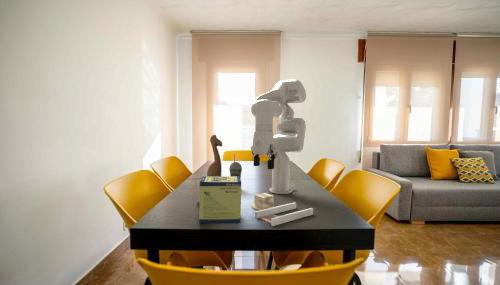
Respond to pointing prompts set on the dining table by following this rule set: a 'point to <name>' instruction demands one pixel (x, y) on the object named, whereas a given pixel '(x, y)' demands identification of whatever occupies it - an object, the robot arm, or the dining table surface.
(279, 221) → the channel
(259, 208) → the coaster
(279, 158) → the robot arm
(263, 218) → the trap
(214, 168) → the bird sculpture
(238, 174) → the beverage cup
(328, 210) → the dining table surface
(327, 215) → the dining table surface
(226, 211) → the protein box
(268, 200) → the block
